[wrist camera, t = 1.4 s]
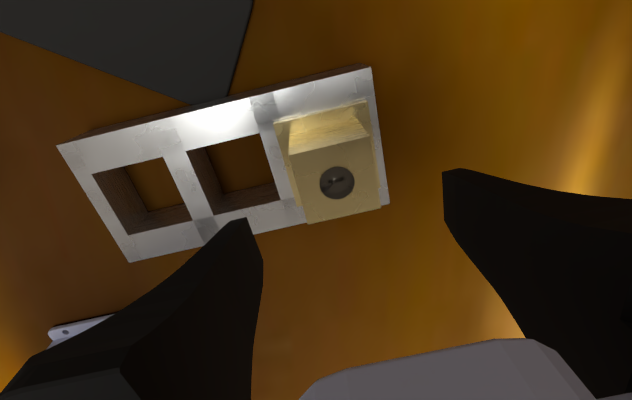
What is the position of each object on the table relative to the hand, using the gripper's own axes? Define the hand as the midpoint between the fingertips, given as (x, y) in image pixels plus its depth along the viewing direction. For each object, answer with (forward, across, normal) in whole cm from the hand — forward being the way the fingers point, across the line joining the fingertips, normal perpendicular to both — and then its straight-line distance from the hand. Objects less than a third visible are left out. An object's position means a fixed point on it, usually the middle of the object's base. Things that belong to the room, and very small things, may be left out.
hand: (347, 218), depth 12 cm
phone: (+11, +10, -10) cm, 18 cm away
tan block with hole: (+10, 0, 0) cm, 10 cm away
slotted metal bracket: (+10, +6, 0) cm, 12 cm away
